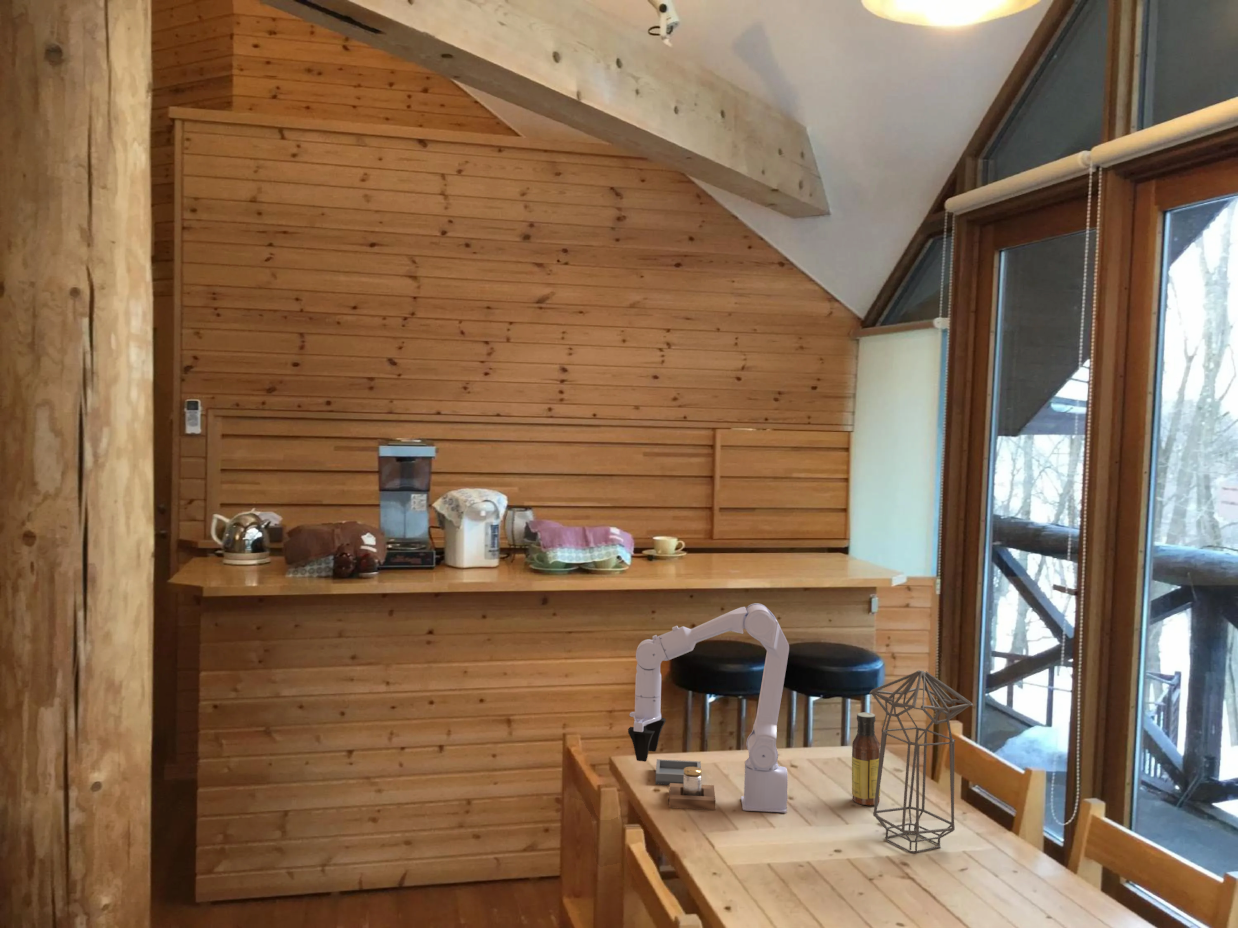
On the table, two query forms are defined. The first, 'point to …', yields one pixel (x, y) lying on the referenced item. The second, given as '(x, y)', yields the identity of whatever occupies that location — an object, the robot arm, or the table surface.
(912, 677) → the geometric lantern
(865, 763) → the sauce bottle
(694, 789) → the gold and silver cylinder
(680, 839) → the table surface
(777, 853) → the table surface
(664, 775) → the tray
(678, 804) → the block
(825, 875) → the table surface
